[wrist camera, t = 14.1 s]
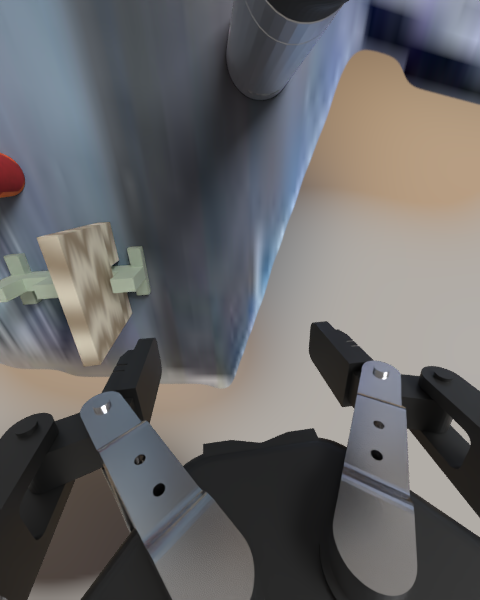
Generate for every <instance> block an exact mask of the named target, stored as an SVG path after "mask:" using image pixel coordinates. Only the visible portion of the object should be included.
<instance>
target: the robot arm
mask: <svg viewBox="0 0 480 600" xmlns="http://www.w3.org/2000/svg"><path fill="white" fill-rule="evenodd" d="M347 1H349V0H234V2H233V9H232V16H231V22H230V28H229V35H228V43H227V51H226V58H227V66H228V71H229V74H230V76H231V79H232V81H233V82H234V84H235V86H236V87H237V88H238V89H239V90H240V92H241V93H243V94H244V95H246V96H247V97H249V98H252V99H255V100H266V99H269V98H272V97H274V96H275V95H277V94H278V93H279V92H280V91H281V90H282V89H283V88H284V87H285V85H286V84H287V82H288V81H289V80H290V78H291V77H292V76H293V74H294V73H295V72H296V70H297V69H298V67H299V66H300V65H301V63H302V62H303V60H304V59H305V58H306V56H307V55H308V53H309V52H310V51H311V49H312V48H313V46H314V45H315V44H316V42H317V41H318V39H319V38H320V37H321V35H322V34H323V32H324V31H325V30H326V28H327V27H328V25H329V24H330V23H331V21H332V20H333V18H334V17H335V15H336V14H337V13H338V11H339V10H340V8H341V7H342V6H343V4H344V3H345V2H347ZM309 354H310V357H311V359H312V361H313V363H314V364H315V366H316V367H317V369H318V370H319V372H320V374H321V375H322V377H323V378H324V380H325V381H326V383H327V384H328V386H329V387H330V389H331V390H332V392H333V394H334V395H335V397H336V398H337V400H338V401H339V403H340V404H341V406H342V407H347V406H353V408H354V413H353V418H352V424H351V429H350V435H349V439H348V445H347V447H345V446H343V445H341V444H339V443H337V442H334V441H331V440H328V439H323V438H318V437H317V435H316V432H315V430H314V429H313V428H312V429H305V430H299V431H291V432H287V433H284V434H282V435H279V436H277V437H275V438H272V439H270V440H268V441H265V442H262V443H256V442H246V441H235V440H229V441H222V442H215V443H208V444H203V454H202V455H200V456H198V457H196V458H194V459H192V460H191V461H189V462H188V463H186V464H185V465H184V466H182V465H181V463H180V462H179V461H178V460H177V458H176V457H175V456H174V454H173V453H172V452H171V451H170V450H169V448H168V447H167V446H166V444H165V443H164V442H163V441H162V439H161V438H160V436H159V435H158V434H157V433H156V431H155V430H154V429H153V428H152V426H151V425H150V420H151V416H152V412H153V407H154V403H155V399H156V395H157V391H158V387H159V383H160V379H161V373H162V367H161V360H160V355H159V350H158V345H157V341H156V338H147V339H139V340H138V342H137V345H136V347H135V349H134V350H128V351H127V352H126V353H125V354H124V355H122V356H121V357H120V359H119V361H118V363H117V366H116V367H115V369H114V370H113V373H112V374H111V376H110V378H109V380H108V382H107V384H106V386H105V388H104V390H103V391H102V393H101V394H98V395H96V396H94V397H92V398H91V399H90V400H88V401H87V402H86V403H85V404H84V405H83V407H82V409H81V411H80V413H78V414H75V415H72V416H69V417H66V418H63V419H60V420H58V421H54V419H53V417H52V415H51V414H48V413H39V414H34V415H31V416H29V417H26V418H24V419H22V420H21V421H19V422H17V423H16V424H14V425H13V426H12V427H11V428H9V429H8V431H6V432H5V434H4V435H3V436H2V438H1V439H0V600H27V599H28V597H29V594H30V592H31V589H32V587H33V584H34V582H35V579H36V577H37V574H38V572H39V569H40V567H41V564H42V562H43V559H44V557H45V554H46V552H47V549H48V547H49V544H50V542H51V539H52V537H53V534H54V532H55V529H56V527H57V524H58V522H59V519H60V517H61V514H62V512H63V509H64V506H65V504H66V502H67V499H68V497H69V494H70V492H71V489H72V487H73V484H74V482H75V479H77V478H79V477H82V476H84V475H86V474H88V473H91V472H93V471H95V470H97V469H100V468H101V469H102V472H103V474H104V476H105V478H106V480H107V482H108V485H109V486H110V489H111V491H112V493H113V495H114V497H115V500H116V501H117V504H118V506H119V508H120V511H121V513H122V515H123V518H124V520H125V522H126V525H127V527H128V529H129V531H130V534H129V536H128V537H127V538H126V540H125V541H124V542H123V544H122V545H121V546H120V548H119V549H118V550H117V552H116V553H115V554H114V556H113V557H112V558H111V560H110V561H109V562H108V564H107V565H106V567H105V568H104V569H103V570H102V572H101V573H100V574H99V576H98V577H97V578H96V580H95V581H94V583H93V584H92V585H91V587H90V588H89V589H88V591H87V592H86V593H85V595H84V596H83V597H82V599H81V600H480V537H479V536H477V535H476V534H474V533H473V532H471V531H470V530H468V529H467V528H465V527H464V526H462V525H461V524H459V523H458V522H456V521H455V520H454V519H452V518H451V517H449V516H448V515H446V514H445V513H443V512H442V511H440V510H439V509H437V508H436V507H434V506H433V505H431V504H430V503H429V502H427V501H426V500H424V499H423V498H421V497H420V496H418V495H417V494H415V493H414V492H412V491H411V490H410V487H409V467H408V466H409V465H408V443H407V429H409V430H410V431H411V432H412V434H413V435H414V436H415V437H416V439H417V440H418V441H419V442H420V444H421V445H422V446H423V447H424V449H426V451H427V452H428V454H429V455H430V456H431V457H432V459H433V460H434V461H435V462H436V464H437V465H438V466H439V467H440V468H441V470H442V471H443V472H444V474H445V475H446V476H447V477H448V479H449V480H450V481H451V482H452V483H453V485H454V486H455V487H456V488H457V490H458V491H459V492H460V494H461V495H462V496H463V497H464V499H465V500H466V501H467V502H468V504H469V505H470V506H471V507H472V508H473V510H474V511H475V512H476V514H477V515H478V516H479V517H480V391H479V390H477V389H476V388H475V387H473V386H472V385H471V384H469V383H468V382H467V381H465V380H464V379H463V378H461V377H460V376H459V375H457V374H456V373H454V372H452V371H450V370H447V369H444V368H441V367H435V366H428V367H424V368H423V369H422V371H421V374H420V376H412V375H402V374H400V372H399V371H398V370H397V369H395V367H393V366H391V365H389V364H387V363H384V362H381V361H374V360H373V359H372V358H371V357H369V356H368V355H367V354H366V353H365V352H364V351H363V350H362V349H361V348H360V347H359V346H357V344H356V343H355V342H354V341H353V340H352V339H351V338H350V337H349V336H348V335H347V334H345V333H344V332H342V331H340V330H335V329H334V328H333V327H332V326H331V325H330V324H329V323H328V322H327V321H325V322H315V323H312V324H311V329H310V342H309ZM452 419H454V420H455V421H456V422H457V423H458V424H459V425H460V426H461V427H462V428H463V429H464V430H465V431H466V433H467V434H468V436H469V438H470V441H471V445H469V443H468V442H467V441H465V439H463V438H462V436H461V435H460V434H459V433H458V432H457V431H456V430H455V429H453V427H452V426H451V425H450V424H451V422H452Z"/></svg>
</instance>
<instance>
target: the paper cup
mask: <svg viewBox="0 0 480 600" xmlns="http://www.w3.org/2000/svg"><path fill="white" fill-rule="evenodd" d="M24 185H25V177H24V174H23V171H22V169H21V168H20V166H19V165H18V164H17V163H16V162H15V161H14V160H13V159H12V158H10V157H8V156H7V155H4V154H2V153H0V198H2V197H10V196H14V195H17V194H19V193H20V192H21V191H22V190H23V188H24Z"/></svg>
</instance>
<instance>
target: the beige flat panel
mask: <svg viewBox="0 0 480 600" xmlns="http://www.w3.org/2000/svg"><path fill="white" fill-rule="evenodd" d="M37 240H38V243H39V245H40V248H41V251H42V254H43V256H44V259H45V262H46V265H47V267H48V270H49V273H50V275H51V278H52V281H53V284H54V286H55V289H56V292H57V295H58V297H59V300H60V303H61V305H62V308H63V311H64V314H65V316H66V319H67V322H68V325H69V327H70V330H71V333H72V335H73V338H74V341H75V344H76V346H77V349H78V352H79V355H80V357H81V360H82V363H83V365H84V367H85V366H93V365H101V363H102V361H103V360H104V358H105V357H106V355H107V353H108V352H109V350H110V349H111V347H112V345H113V344H114V342H115V341H116V339H117V337H118V336H119V334H120V333H121V331H122V329H123V328H124V326H125V324H126V323H127V321H128V320H129V318H130V316H131V315H132V310H131V306H130V302H129V298H128V294H127V292H123V293H113V290H112V286H111V282H110V279H111V278H113V273H112V269H111V266H112V265H113V264H115V263H116V262H117V261H119V258H118V254H117V250H116V246H115V241H114V237H113V233H112V229H111V225H110V222H103V223H94V224H90V225H86V226H82V227H78V228H74V229H69V230H65V231H61V232H57V233H53V234H49V235H45V236H41V237H37Z"/></svg>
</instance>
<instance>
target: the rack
mask: <svg viewBox="0 0 480 600" xmlns="http://www.w3.org/2000/svg"><path fill="white" fill-rule="evenodd" d="M127 251H128V256H129V260H130V265H123V266H111V269H112V273H113V278H111V279H110V282H111V286H112V290H113V293H123V292H135V291H136V293H137V295H149V294H150V292H151V290H150V284H149V279H148V274H147V269H146V264H145V258H144V253H143V248H142V246H137V247H129V248H127ZM3 257H4V259H5V261H6V264H7V266H8V269H9V271H10V273H11V276H9V277H6V278H4V279H1V280H0V302H8V301H10V300H12V299H14V298H16V297H18V296H19V295H20V297H21V300H22V302H23V305H26V304H37V303H38V302H40V301H42V299H48V298H59V297H58V295H57V292H56V289H55V286H54V284H53V281H52V278H51V275H50V273H49V271H36V272H31V270H30V267H29V264H28V262H27V259H26V257H25V254H10V255H7V256H3Z"/></svg>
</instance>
